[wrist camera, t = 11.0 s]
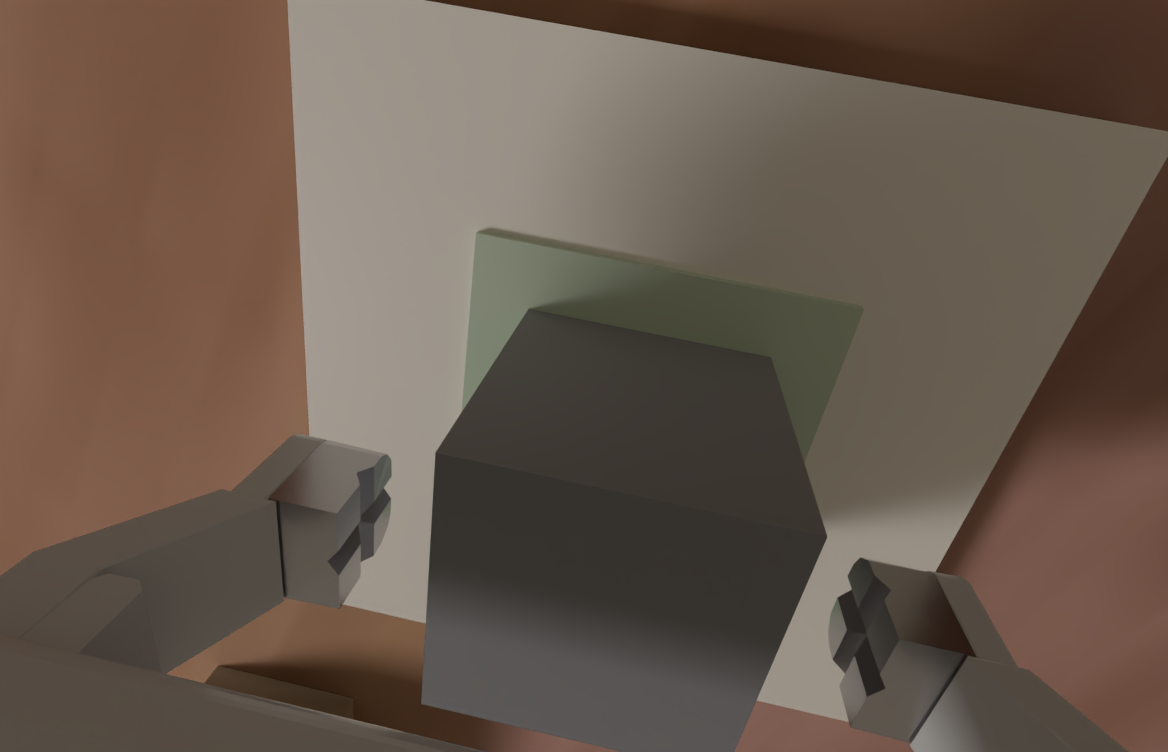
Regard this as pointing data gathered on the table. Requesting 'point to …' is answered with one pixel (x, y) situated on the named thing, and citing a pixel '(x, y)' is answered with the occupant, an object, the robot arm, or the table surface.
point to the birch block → (282, 691)
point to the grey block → (616, 539)
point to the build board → (690, 258)
